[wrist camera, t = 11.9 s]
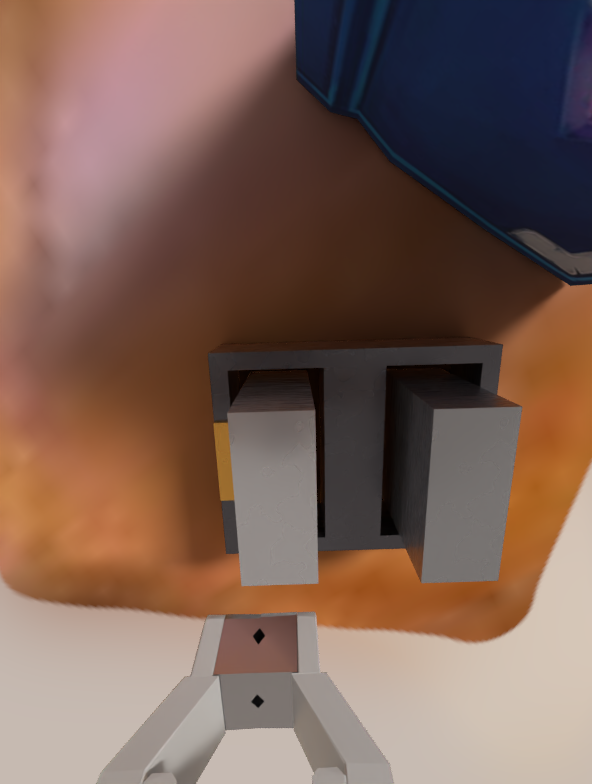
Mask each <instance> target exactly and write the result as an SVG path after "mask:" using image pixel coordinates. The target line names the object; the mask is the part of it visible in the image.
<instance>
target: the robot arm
mask: <svg viewBox="0 0 592 784" xmlns="http://www.w3.org/2000/svg"><path fill="white" fill-rule="evenodd" d="M251 728H294V731H295V733H296V736H297V738H298V739H299V742H300V744H301V746H302V748H303V750H304V752H305V755H306V757H307V759H308V761H309V763H310V765H311V767H312V770H313V772H314V775H313V776H312V784H394V782H393V777H392V772H391V767H390V763H389V762H388V760H387V759H386V758H385V756H384V755H383V753H382V752H381V751H380V749H379V748H378V746H377V745H376V744H375V742H374V740H373V739H372V738H371V736H370V735H369V733H368V732H367V730H366V729H365V728H364V727H363V725H362V723H361V722H360V720H359V719H358V717H357V716H356V715H355V713H354V712H353V710H352V709H351V707H350V706H349V704H348V703H347V702H346V700H345V699H344V697H343V696H342V694H341V693H340V692H339V690H338V689H337V687H336V686H335V684H334V683H333V682H332V680H331V679H330V677H329V676H328V674H327V673H326V672H320V661H319V648H318V634H317V620H316V613H315V612H290V613H268V614H226V615H208V616H207V618H206V620H205V623H204V627H203V630H202V634H201V638H200V642H199V645H198V649H197V653H196V657H195V661H194V664H193V668H192V672H191V676H187V677H184V678H183V679H182V680H181V681H180V683H179V684H178V685H177V686H176V687H175V688H174V689H173V691H172V692H171V693H170V694H169V695H168V696H167V697H166V699H165V700H164V701H163V702H162V703H161V704H160V705H159V706H158V708H157V709H156V710H155V711H154V712H153V713H152V714H151V716H150V717H149V718H148V719H147V720H146V721H145V722H144V724H143V725H142V726H141V727H140V728H139V729H138V731H137V732H136V733H135V734H134V735H133V736H132V737H131V739H130V740H129V741H128V742H127V743H126V744H125V745H124V746H123V748H122V749H121V750H120V751H119V752H118V753H117V754H116V756H115V757H114V758H113V759H112V760H111V761H110V763H109V764H108V765H107V766H106V767H105V768H104V769H103V770H102V772H101V773H100V776H99V778H98V781H97V783H96V784H196V782H197V781H198V779H199V777H200V775H201V774H202V772H203V770H204V769H205V767H206V765H207V764H208V762H209V760H210V759H211V756H212V755H213V753H214V752H215V750H216V748H217V747H218V745H219V743H220V742H221V740H222V738H223V736H224V735H225V730H236V729H251Z"/></svg>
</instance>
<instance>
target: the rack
mask: <svg viewBox="0 0 592 784" xmlns="http://www.w3.org/2000/svg"><path fill="white" fill-rule="evenodd" d="M502 348H503V344H498V343H494V342H489V341H484V340H480V339H475V338H470V337H452V338H418V339H384V340H350V341H316V342H282V343H248V344H221V345H220V346H218V347H217V348H215V349H214V350H212V351H211V352H209V353H208V360H209V371H210V382H211V393H212V404H213V415H214V423H213V426H214V436H215V447H216V458H217V469H218V480H219V490H220V501H221V502H222V513H223V523H224V534H225V545H226V554H238V553H239V549H238V537H237V525H236V513H235V501H234V489H233V477H232V465H231V453H230V441H229V429H228V417H227V413H228V411H229V409H230V407H231V406H232V404H233V402H234V400H235V399H236V397H237V395H238V393H239V392H240V380H239V370H262V369H295V368H319V411H320V495H321V503H317V539H318V551H335V550H367V549H400V548H406V550H407V553H408V555H409V557H410V559H411V562H412V564H413V566H414V568H415V570H416V573H417V575H418V577H419V579H420V581H421V583H438V582H470V581H498V577H499V570H500V562H501V555H502V548H503V541H504V534H505V527H506V519H507V512H508V505H509V498H510V491H511V484H512V477H513V469H514V462H515V455H516V448H517V441H518V434H519V426H520V419H521V412H522V406H520V405H518V404H515V403H513V402H511V401H509V400H507V399H505V398H503V397H501V396H498V395H497V390H498V381H499V373H500V365H501V356H502ZM430 364H451V369H450V373H449V372H447V371H445V370H443V369H441V368H408V369H386V367H387V366H396V365H430ZM382 498H383V500H384V501H382Z"/></svg>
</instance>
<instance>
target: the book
mask: <svg viewBox="0 0 592 784" xmlns="http://www.w3.org/2000/svg"><path fill="white" fill-rule="evenodd" d="M294 2H295V41H296V79H297V80H298V81H299V82H300V83H301V84H302V85H303V86H304V87H305V88H306V89H307V90H308V91H309V92H310V93H311V94H312V95H313V96H314V97H315V98H316V99H317V100H318V101H320V102H321V103H322V104H323V105H324V106H325V107H326V108H327V109H328V110H329V111H330V112H332V113H336V114H340V115H344V116H348V117H352V118H356V119H358V121H359V122H360V123H361V124H362V126H363V127H364V128H365V130H366V131H367V132H368V134H369V135H370V136H371V137H372V139H373V140H374V141H375V143H376V144H377V145H378V147H379V148H380V149H381V150H382V152H383V153H384V154H385V156H386V157H387V158H388V160H389V161H390V162H392V163H393V164H394V165H396V166H397V167H399V168H400V169H401V170H403V171H404V172H406V173H407V174H408V175H410V176H411V177H412V178H414V179H415V180H417V181H418V182H419V183H421V184H422V185H424V186H425V187H426V188H428V189H429V190H431V191H432V192H433V193H435V194H436V195H437V196H439V197H440V198H442V199H443V200H444V201H446V202H447V203H449V204H450V205H451V206H453V207H454V208H456V209H457V210H458V211H460V212H461V213H462V214H464V215H465V216H467V217H468V218H469V219H471V220H472V221H474V222H475V223H476V224H478V225H479V226H481V227H482V228H483V229H485V230H486V231H488V232H489V233H491V234H492V235H494V236H496V237H497V238H499V239H500V240H502V241H503V242H505V243H506V244H508V245H509V246H511V247H512V248H514V249H515V250H517V251H518V252H520V253H521V254H523V255H524V256H526V257H528V258H529V259H531V260H532V261H534V262H535V263H537V264H538V265H540V266H541V267H543V268H544V269H546V270H547V271H549V272H550V273H552V274H553V275H555V276H557V277H558V278H560V279H561V280H563V281H564V282H566V283H567V284H569V285H570V286H572V285H587V284H592V0H294Z"/></svg>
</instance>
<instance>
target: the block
mask: <svg viewBox="0 0 592 784" xmlns="http://www.w3.org/2000/svg"><path fill="white" fill-rule="evenodd" d="M227 417H228V429H229V441H230V453H231V465H232V477H233V489H234V501H235V513H236V525H237V537H238V549H239V560H240V572H241V584H242V586H257V585H287V584H317V583H318V539H317V482H316V425H315V407H314V402H313V397H312V392H311V387H310V382H309V378H308V373H307V370H295V371H264V372H250V374H249V376H248V378H247V379H246V381H245V383H244V385H243V386H242V388H241V390H240V392H239V393H238V395H237V397H236V399H235V400H234V402H233V404H232V406H231V407H230V409H229V411H228V413H227Z"/></svg>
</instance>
